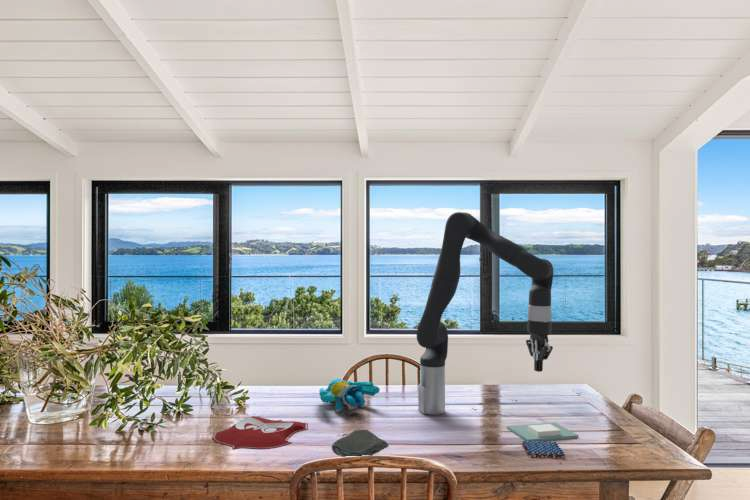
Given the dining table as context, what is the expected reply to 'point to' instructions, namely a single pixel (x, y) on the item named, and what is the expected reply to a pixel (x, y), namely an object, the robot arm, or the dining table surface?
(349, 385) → the toy
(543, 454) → the woven mat
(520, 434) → the mat
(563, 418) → the dining table surface
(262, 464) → the dining table surface
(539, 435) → the rectangular block
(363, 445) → the stone slab
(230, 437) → the emblem
